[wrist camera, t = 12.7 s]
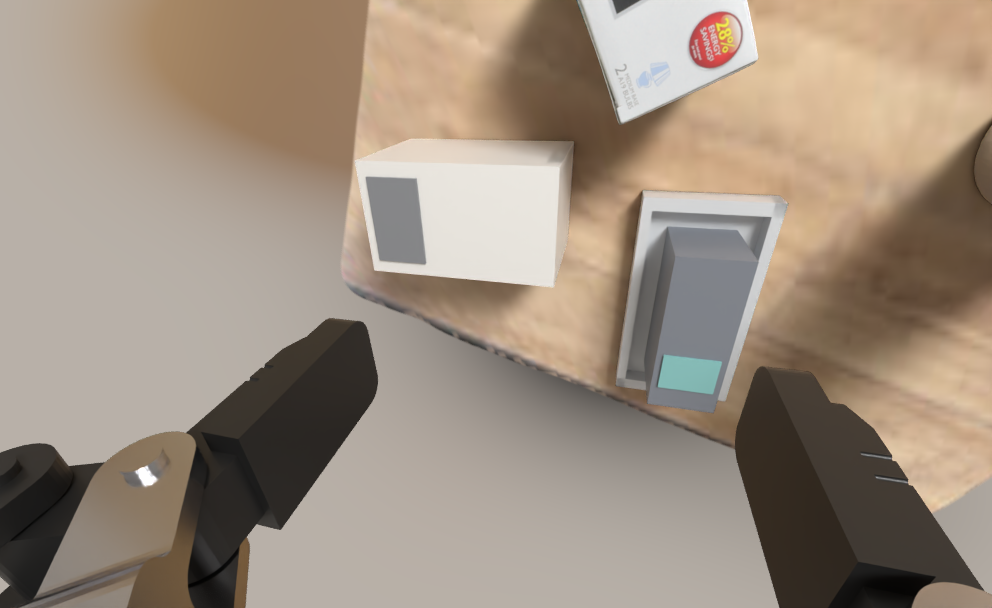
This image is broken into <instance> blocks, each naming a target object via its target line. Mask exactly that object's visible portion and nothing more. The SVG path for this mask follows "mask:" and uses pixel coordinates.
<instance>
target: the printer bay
mask: <svg viewBox="0 0 992 608" xmlns="http://www.w3.org/2000/svg"><path fill="white" fill-rule="evenodd" d="M573 151H574V141H529V140H470V139H408V140H406V141H403V142H401V143H398V144H396V145H393V146H391V147H388V148H385V149H383V150H380V151H378V152H375V153H373V154H370V155H368V156H365V157H362V158H360V159H357V160H355V165H356V170H357V176H358V181H359V187H360V193H361V198H362V204H363V209H364V215H365V220H366V226H367V231H368V237H369V242H370V248H371V254H372V259H373V265H374V270H375V271H385V272H396V273H407V274H417V275H428V276H439V277H449V278H460V279H470V280H481V281H492V282H502V283H513V284H524V285H534V286H545V287H554V285H555V282H556V278H557V275H558V272H559V268H560V265H561V261H562V258H563V255H564V251H565V248H566V245H567V241H568V230H569V214H570V199H571V183H572V167H573Z"/></svg>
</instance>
